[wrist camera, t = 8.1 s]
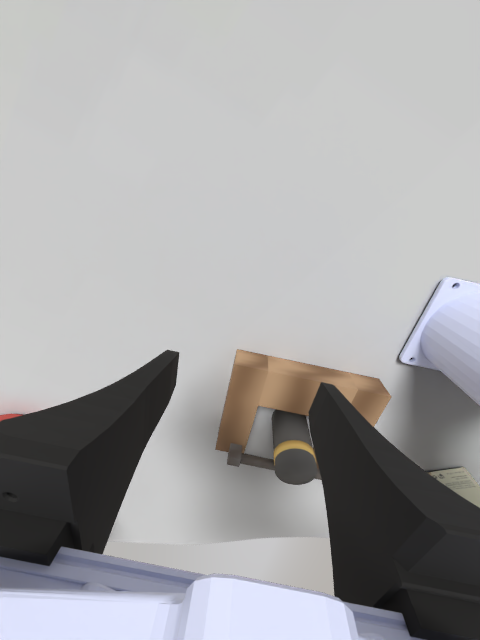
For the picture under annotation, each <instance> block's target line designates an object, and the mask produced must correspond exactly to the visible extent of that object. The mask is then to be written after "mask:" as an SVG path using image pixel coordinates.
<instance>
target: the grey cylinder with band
mask: <svg viewBox="0 0 480 640" xmlns="http://www.w3.org/2000/svg"><path fill="white" fill-rule="evenodd" d="M272 426H273V444H274V465H275V473H276V476H277V477H278V478H279V479H280V480H281V481H283V482H285V483H288V484H293V485H300V484H305V483H308V482H310V481H312V480H313V479H314V478H315V477H316V475H317V472H318V470H317V465H316V458H315V454H314V450H313V447H312V443H311V438H310V434H309V429H308V425H307V420H306V416H305V415H301V414H297V413H292V412H287V411H282V410H277V409H276V410H275V411H274V412H273V415H272Z"/></svg>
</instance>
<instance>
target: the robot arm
mask: <svg viewBox="0 0 480 640" xmlns="http://www.w3.org/2000/svg"><path fill="white" fill-rule="evenodd" d="M454 283H456V285H455V286H454V287H453V288H452V286H453V284H454ZM410 358H413V359H411V360H409V359H410ZM399 359H400V360H401V362H403V363H406V364H411V365H415V366H420V367H425V368H430V369H434V370H439V371H441V372H442V373H444V374H445V375H446V376H447V377H448V378H449V379H450V380H451V381H453V382H454V383H455V384H456V385H457V386H458V387H459V388H460V389H461V390H463V391H464V392H465V393H466V394H467V395H468V396H469V397H470V398H471V399H473V400H474V401H475V402H476V403H477V404H478V405H479V406H480V284H479V283H474V282H469V281H465V280H460V279H456V278H451V277H447V278H444V279H443V280H442V281H441V282H440V284H439V286H438V287H437V289H436V291H435V293H434V295H433V296H432V298H431V300H430V302H429V304H428V305H427V307H426V309H425V311H424V313H423V314H422V316H421V318H420V320H419V322H418V323H417V325H416V327H415V329H414V331H413V332H412V334H411V336H410V338H409V340H408V341H407V343H406V345H405V347H404V349H403V350H402V352H401V354H400V356H399ZM178 360H179V352H175V351H170V350H166V351H165V352H163V353H162V354H160V355H159V356H157V357H156V358H155V359H153V360H152V361H150V362H149V363H147V364H146V365H144V366H143V367H141V368H139V369H138V370H136V371H135V372H133V373H131V374H130V375H128V376H126V377H124V378H123V379H121V380H119V381H117V382H115V383H113V384H111V385H109V386H107V387H105V388H103V389H101V390H98V391H96V392H93V393H91V394H88V395H86V396H83V397H81V398H78V399H76V400H73V401H70V402H67V403H64V404H61V405H58V406H55V407H51V408H48V409H45V410H41V411H38V412H34V413H30V414H26V415H22V416H18V417H14V418H9V419H5V420H2V421H0V640H480V508H479V507H478V506H476V505H474V504H473V503H471V502H470V501H468V500H466V499H465V498H463V497H462V496H460V495H459V494H457V493H456V492H454V491H453V490H451V489H450V488H448V487H447V486H445V485H444V484H442V483H441V482H439V481H438V480H437V479H435V478H434V477H432V476H431V475H430V474H428V473H427V472H426V471H424V470H423V469H422V468H420V467H419V466H418V465H417V464H415V463H414V462H413V461H411V460H410V459H409V458H408V457H406V456H405V455H404V454H403V453H402V452H400V451H399V450H398V449H397V448H396V447H395V446H393V445H392V444H391V443H390V442H389V441H388V440H387V439H386V438H384V437H383V436H382V435H381V434H380V433H379V432H378V431H377V430H376V429H375V428H374V427H373V426H372V425H371V424H370V423H369V422H368V421H367V420H366V419H365V418H364V417H363V416H362V415H361V414H360V413H359V412H358V411H357V409H356V408H355V407H354V406H353V405H352V404H351V403H350V402H349V401H348V400H347V399H346V397H345V396H344V395H343V394H342V393H341V392H340V391H339V390H338V389H337V388H336V387H335V386H334V385H333V384H329V383H324V382H321V383H320V386H319V388H318V391H317V393H316V395H315V398H314V400H313V403H312V405H311V407H310V410H309V412H308V413H309V424H310V432H311V437H312V441H313V446H314V450H315V454H316V458H317V462H318V466H319V470H320V474H321V479H322V484H323V489H324V496H325V503H326V510H327V518H328V527H329V535H330V545H331V556H332V565H333V579H334V595H335V597H334V596H331V595H328V594H326V593H323V592H318V591H313V590H308V589H303V588H297V587H292V586H287V585H282V584H277V583H272V582H267V581H261V580H257V579H251V578H247V577H241V576H236V575H228V574H210V575H204V574H199V573H194V572H189V571H184V570H179V569H174V568H169V567H163V566H158V565H153V564H148V563H143V562H138V561H133V560H127V559H123V558H117V557H112V556H107V555H102V554H103V551H104V548H105V546H106V543H107V541H108V538H109V535H110V533H111V530H112V527H113V525H114V522H115V519H116V517H117V514H118V512H119V509H120V507H121V504H122V502H123V499H124V496H125V494H126V492H127V489H128V487H129V484H130V482H131V479H132V477H133V474H134V472H135V470H136V467H137V465H138V462H139V460H140V458H141V455H142V453H143V451H144V449H145V447H146V445H147V443H148V441H149V439H150V437H151V435H152V433H153V431H154V430H155V428H156V426H157V424H158V422H159V420H160V418H161V417H162V415H163V413H164V411H165V409H166V407H167V405H168V403H169V401H170V399H171V396H172V394H173V391H174V388H175V386H176V378H177V369H178Z"/></svg>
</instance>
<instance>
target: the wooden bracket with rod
mask: <svg viewBox="0 0 480 640" xmlns="http://www.w3.org/2000/svg"><path fill="white" fill-rule="evenodd" d="M321 382H324V383H329V384H333V385H334V386H335V387H336V388H337V389H338V390H339V391H340V392H341V393H342V394H343V395H344V396H345V397H346V399H347V400H348V401H349V402H350V403H351V404H352V405H353V406H354V407H355V408H356V409H357V411H358V412H359V413H360V414H361V415H362V416H363V417H364V418H365V419H366V420H367V421H368V422H369V423H370V424H371V425H372V426H373V427H374V426H375V424H376V422H377V421H378V419H379V417H380V415H381V414H382V412H383V410H384V409H385V407H386V405H387V404H388V402H389V400H390V398H391V396H390V394H389V393H388V391H387V390H386V388H385V387H384V386H383V384H382V383H381V381H380V380H379V379H377V378H372V377H367V376H362V375H358V374H353V373H348V372H343V371H339V370H334V369H329V368H324V367H319V366H315V365H310V364H305V363H300V362H296V361H291V360H286V359H281V358H276V357H272V356H267V355H262V354H257V353H253V352H248V351H243V350H238V349H237V352H236V356H235V361H234V365H233V370H232V374H231V379H230V383H229V387H228V392H227V396H226V401H225V405H224V410H223V414H222V419H221V423H220V428H219V432H218V438H217V443H216V449H215V450H220V451H225V452H229V453H228V460H227V464H228V465H233V466H238V467H239V464H240V463H241V464H246V465H251V466H256V467H261V468H266V469H270V470H275V465H274V460H273V459H268V458H263V457H258V456H253V455H248V454H244V451H245V448H246V444H247V441H248V438H249V434H250V431H251V428H252V424H253V421H254V418H255V414H256V411H257V408H258V406H263V407H267V408H272V409H277V410H282V411H287V412H292V413H297V414H301V415H306V416H309V413H308V412H309V410H310V407H311V405H312V403H313V400H314V398H315V395H316V393H317V391H318V388H319V386H320V383H321ZM313 450H314V448H313ZM314 454H315V450H314ZM315 458H316V454H315ZM316 465H317V470H318V472H317V475H316V477H315V479H320V480H322V479H321V474H320V470H319V466H318V462H317V458H316Z"/></svg>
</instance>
